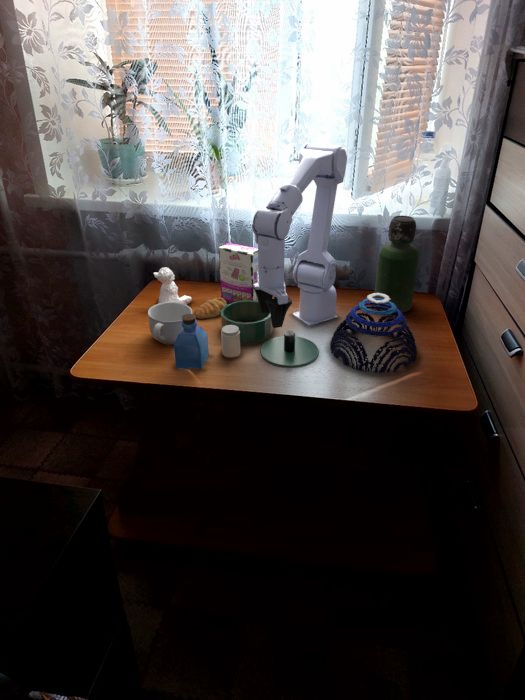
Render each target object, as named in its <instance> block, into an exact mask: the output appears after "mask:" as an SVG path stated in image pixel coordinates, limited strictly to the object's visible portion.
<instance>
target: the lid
mask: <svg viewBox="0 0 525 700" xmlns="http://www.w3.org/2000/svg"><path fill="white" fill-rule="evenodd" d="M260 355H261V357H262V358H263V359H264V360H265V361H266V362H267V363H270V364H271V365H274V366H278V367H283V368H297V367H303V366H306V365H310V364H311V363H313V362H314V361H316V360H317V358H318V356H319V347H318V346H317V345H316V344H315V342H313V341H312V340H310V339H308V338H305V337H302V336H297V335H296V332H295V331H294V330H286V331H284V333H283V335H280V336H276V337H275V336H274V337H272V338H270V339H268V340H266V341H265V342H264V343H263V344H262V345H261V347H260Z"/></svg>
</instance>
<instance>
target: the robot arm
mask: <svg viewBox="0 0 525 700" xmlns="http://www.w3.org/2000/svg"><path fill="white" fill-rule="evenodd" d="M347 163H348V155H347V151H346V148H345V147H344V146H343V145H331V144H330V145H329V144H319V143H311V142H305V143H304V144H303V145H302V147H301V148H300V150H299V155H298V166H297V167H296V169H295V171H294V173H293V175H292V176H291V178H290V180H289V181H288V183H284V184H282V185H280V187H279V188H278V189H277V190H276V192H275V193H274V195H273V196H272V198H271V199H270V200H269V202H268V204H267V205H266V206H265V207H263V208H260V209H258V210H257V211H256V212H255V213H254V215H253V218H252V224H251V229H252V232H253V234H254V241H255V243H256V244H257V249H258V271H257V272H256V278H257V280H258V283H253V284H252V287H253V289H254V291H255V293H256V295H257V298H258V302H259V306H260V310H261V313H268V312H270V315H271V322H272V326H273V329H277V328H282V327H283V325H284V321H285V318H286V314H287V313H288V310H289V309H290V307H291V305H292V304H293V300H292V299H291V297H288V294H287V290H286V282H285V250H286V249H285V246H286V245H285V243H286V242H285V239H286V237H287V236H288V235H289V232H290V229H291V225H292V223H293V216H294V215H295V213H296V212H297V211H298V209H299V207H300V206H301V204H302V203H303V199H304V197H303V193H304V191H305V190H306V189H307V188H308V187H309V185H310V184H312V182H314V184H315V185H316V189H315V195H314V202H313V208H312V215H311V216H312V217H311V223H310V229H309V236H308V243H307V249H306V250H305V251H303V252H301V253H300V254H298V255H297V259H296V263H295V265H294V267H293V272H292V274H293V275H292V277H293V281H294V282H295V284H297V288H299V306H298V311H296V312H293V313H292V315H294V317H296V318H297V319H298V320H301V321H302V322H303V323H304V324H305V325H308V326H312V325H315V324H319V323H322V322H325V321H328V320H331V319H335V318H338V315H336V313H337V299H338V296H337V290H336V288H335V285H334V284H335V281H336V276H337V272H336V271H337V270H336V266H337V262H336V261H337V260H336V259H335V257H333V256H332V255H331V254H330V252H329V251H328V247H329V240H330V234H331V227H332V221H333V214H334V208H335V202H336V196H337V190H338V185H339V184H341V183H344V180H345V176H346V170H347Z"/></svg>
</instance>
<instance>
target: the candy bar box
mask: <svg viewBox="0 0 525 700" xmlns="http://www.w3.org/2000/svg"><path fill="white" fill-rule="evenodd" d="M218 262H219V263H218V265H219V280H220V298H223V299H224V300H225V301H226V303H228V304H230V303H233V302H236V301H244V300H252V301H258V298H257V295H256V293H255V291H254V289H253V287H252V284H253V283H258V280H257V278H256V272H257V271H258V247H254V246H253V247H252V246H247V245H243V244H236V243H232V242H226V243H224V244H223V245H221V246H219V247H218Z"/></svg>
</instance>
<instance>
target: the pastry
mask: <svg viewBox="0 0 525 700" xmlns="http://www.w3.org/2000/svg"><path fill="white" fill-rule="evenodd" d="M226 305H228V302H226V301H225V300H224V299H223V298H221V297H219V296H217V297H216V298H213V299H207V300H205V301H204V302H203V303H202V304H200V305H199V306H198V307H196V308H195V309H194V311H193V312H194V313H193V314H194V315H196V319H201V320H203V319H210V318H212V319H213V318H217V317H219V316H220V317H221V310H222V309H223V307H224V306H226Z"/></svg>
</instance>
